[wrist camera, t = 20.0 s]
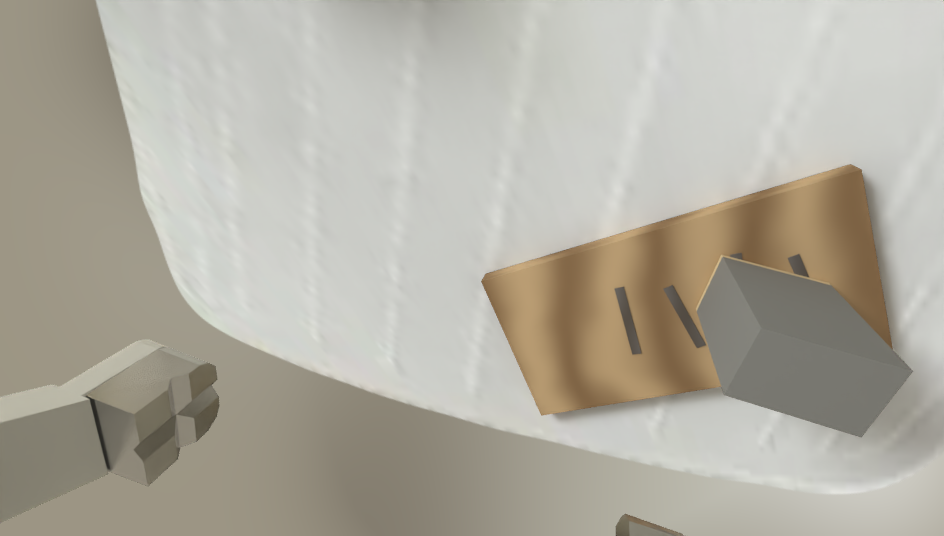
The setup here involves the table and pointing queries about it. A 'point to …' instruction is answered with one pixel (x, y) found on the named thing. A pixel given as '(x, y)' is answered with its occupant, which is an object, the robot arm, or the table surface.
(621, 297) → the oak board
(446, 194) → the table surface
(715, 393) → the table surface
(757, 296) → the block
